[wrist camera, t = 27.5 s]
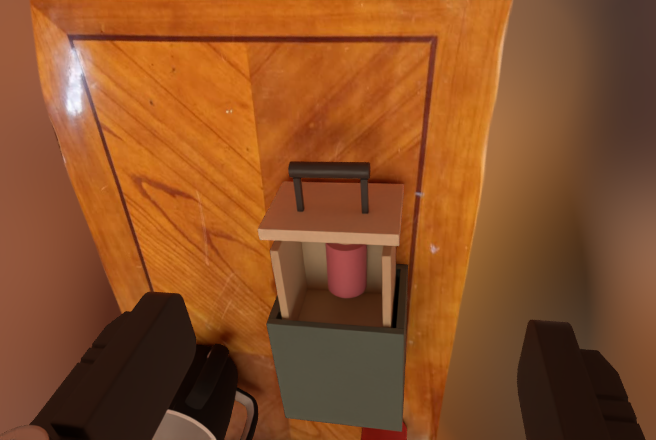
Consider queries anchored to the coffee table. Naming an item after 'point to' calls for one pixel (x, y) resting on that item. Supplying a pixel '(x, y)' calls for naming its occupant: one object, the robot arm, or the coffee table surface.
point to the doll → (346, 269)
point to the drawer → (333, 227)
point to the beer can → (383, 434)
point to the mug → (207, 400)
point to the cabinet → (343, 367)
